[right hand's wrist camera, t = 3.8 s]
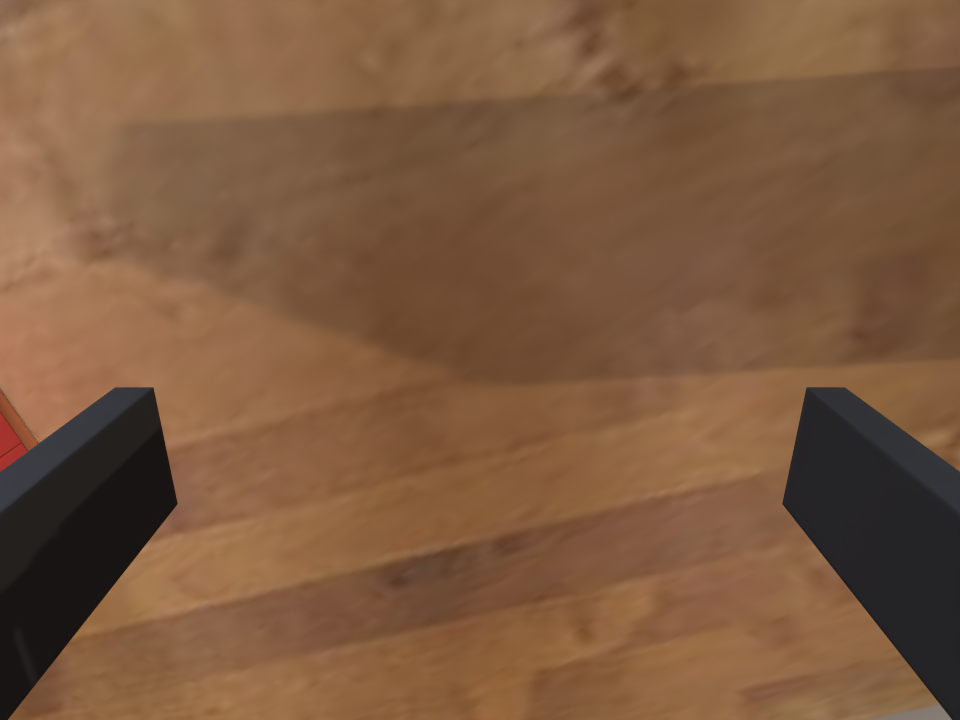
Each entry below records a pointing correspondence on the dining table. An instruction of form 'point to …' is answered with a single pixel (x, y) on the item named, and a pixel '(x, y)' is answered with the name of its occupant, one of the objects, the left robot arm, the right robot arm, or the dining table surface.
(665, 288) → the dining table surface
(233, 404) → the dining table surface
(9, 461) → the chest
